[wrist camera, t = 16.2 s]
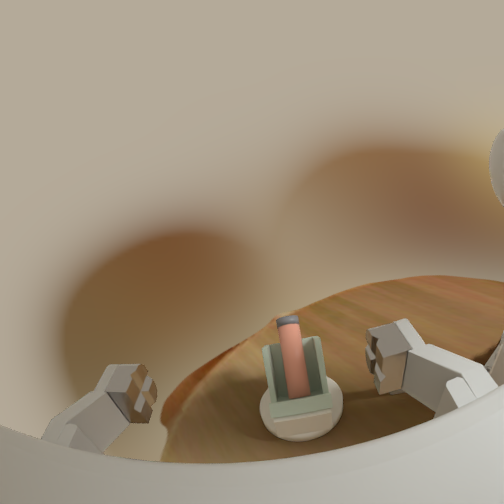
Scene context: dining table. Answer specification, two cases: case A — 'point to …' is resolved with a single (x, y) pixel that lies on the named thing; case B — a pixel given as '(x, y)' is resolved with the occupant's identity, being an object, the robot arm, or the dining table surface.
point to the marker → (293, 357)
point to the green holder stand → (303, 408)
